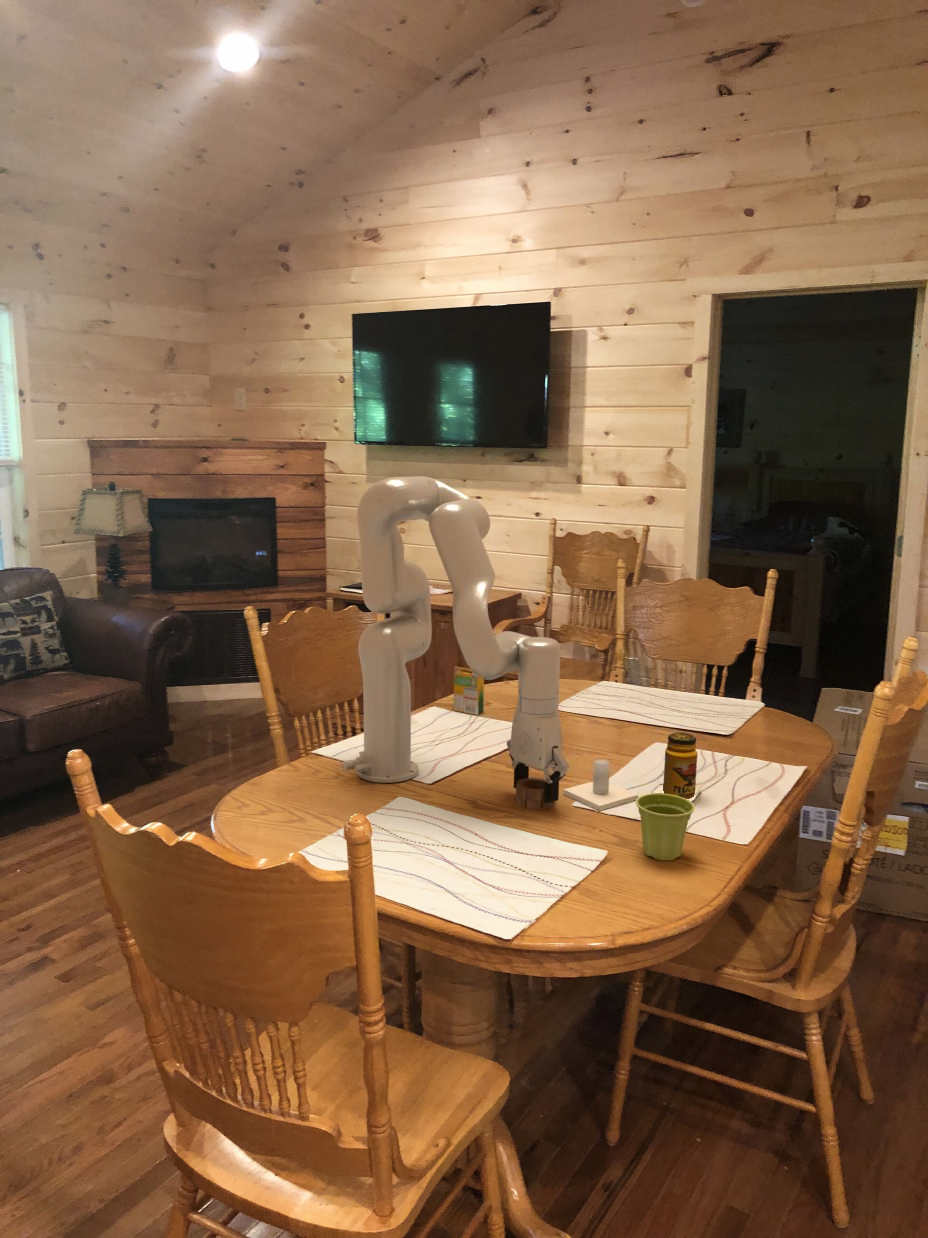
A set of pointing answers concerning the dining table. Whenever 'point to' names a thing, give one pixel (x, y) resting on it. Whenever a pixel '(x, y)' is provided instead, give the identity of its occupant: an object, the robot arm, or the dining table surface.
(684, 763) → the condiment
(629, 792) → the post
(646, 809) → the plant pot
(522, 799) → the ring
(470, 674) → the crayon box
